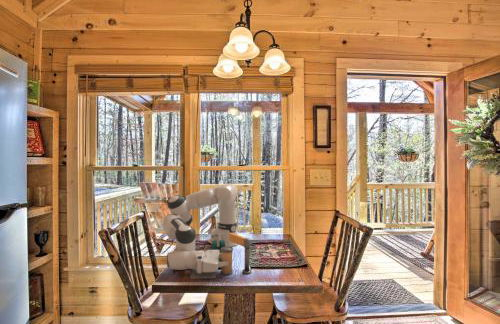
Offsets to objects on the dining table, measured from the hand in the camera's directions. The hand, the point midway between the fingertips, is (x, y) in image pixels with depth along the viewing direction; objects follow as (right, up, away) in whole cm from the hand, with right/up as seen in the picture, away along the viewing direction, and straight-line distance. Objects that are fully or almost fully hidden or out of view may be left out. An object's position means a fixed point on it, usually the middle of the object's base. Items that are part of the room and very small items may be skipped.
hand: (228, 259), depth 139 cm
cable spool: (-1, -6, 0) cm, 7 cm away
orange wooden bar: (+5, +6, +5) cm, 10 cm away
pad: (-12, -6, -1) cm, 13 cm away
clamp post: (+9, -7, +1) cm, 11 cm away
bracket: (-6, -6, +22) cm, 24 cm away
